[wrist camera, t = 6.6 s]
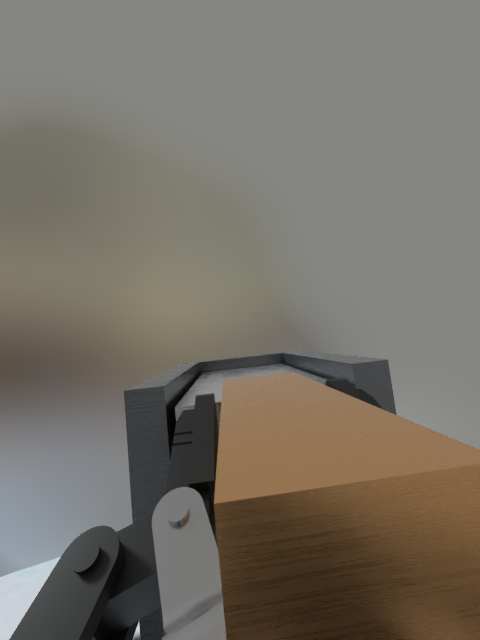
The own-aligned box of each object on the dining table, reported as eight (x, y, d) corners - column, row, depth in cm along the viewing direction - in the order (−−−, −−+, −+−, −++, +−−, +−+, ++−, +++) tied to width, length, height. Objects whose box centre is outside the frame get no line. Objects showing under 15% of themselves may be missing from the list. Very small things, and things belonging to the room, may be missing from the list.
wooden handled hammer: (748, 749, 3) (670, 435, 4) (6, 935, 3) (-2, 535, 3) (284, 389, 29) (280, 354, 30) (205, 399, 29) (201, 363, 29)
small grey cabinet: (560, 1223, 11) (415, 356, 14) (188, 1360, 10) (124, 390, 13) (350, 672, 29) (308, 349, 32) (212, 700, 28) (183, 363, 31)
